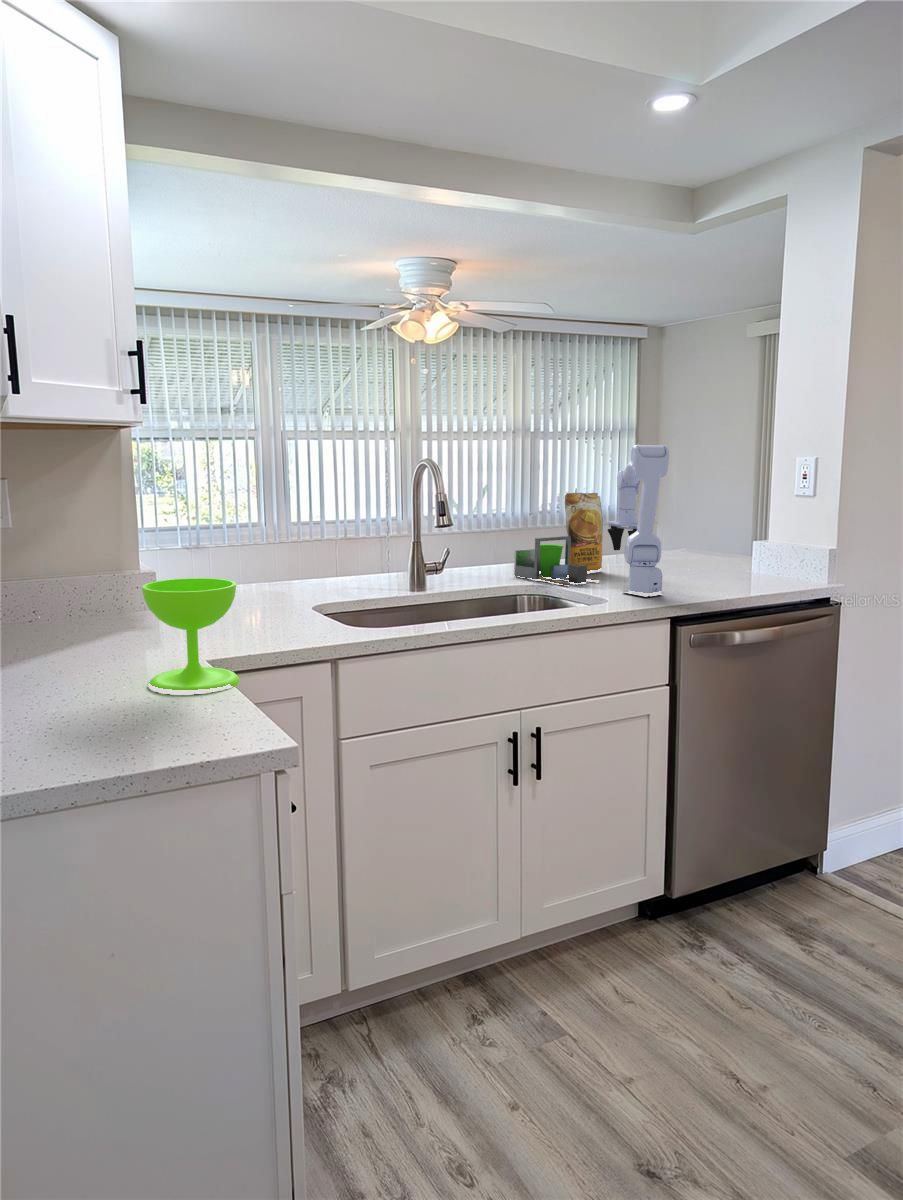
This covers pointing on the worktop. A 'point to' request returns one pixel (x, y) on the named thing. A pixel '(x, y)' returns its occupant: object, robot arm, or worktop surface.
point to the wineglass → (191, 625)
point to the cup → (549, 558)
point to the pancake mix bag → (584, 529)
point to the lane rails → (560, 581)
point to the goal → (536, 558)
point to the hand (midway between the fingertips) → (625, 551)
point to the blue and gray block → (575, 572)
